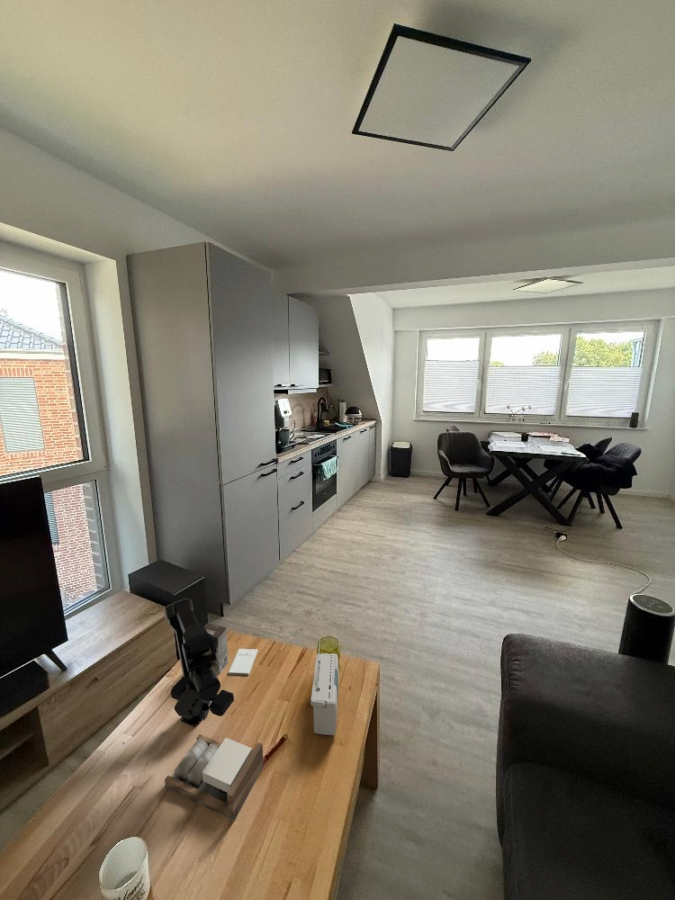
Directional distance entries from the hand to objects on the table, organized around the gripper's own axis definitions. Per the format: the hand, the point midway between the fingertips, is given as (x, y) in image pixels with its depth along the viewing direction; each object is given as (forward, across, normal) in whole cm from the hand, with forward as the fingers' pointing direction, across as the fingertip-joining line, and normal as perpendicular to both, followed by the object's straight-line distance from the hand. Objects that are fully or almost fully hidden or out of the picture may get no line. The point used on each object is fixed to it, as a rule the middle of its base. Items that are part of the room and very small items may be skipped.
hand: (204, 718), depth 106 cm
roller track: (+12, +7, -5) cm, 15 cm away
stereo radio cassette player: (+12, +29, +26) cm, 41 cm away
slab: (+7, +12, -5) cm, 15 cm away
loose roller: (+11, +11, -5) cm, 17 cm away
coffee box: (+12, -20, +28) cm, 37 cm away
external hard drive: (+13, -10, +34) cm, 37 cm away
